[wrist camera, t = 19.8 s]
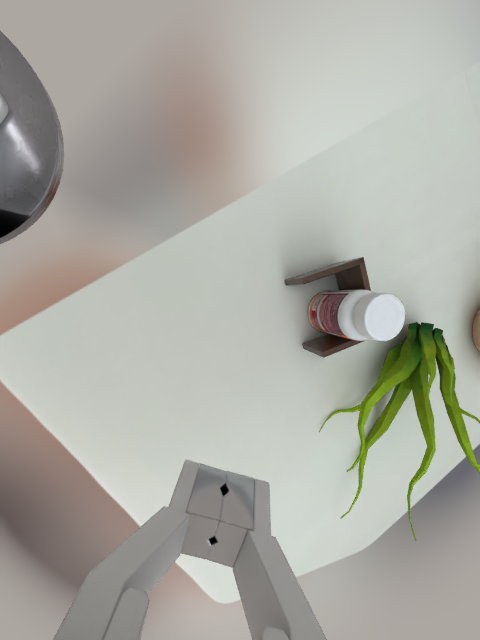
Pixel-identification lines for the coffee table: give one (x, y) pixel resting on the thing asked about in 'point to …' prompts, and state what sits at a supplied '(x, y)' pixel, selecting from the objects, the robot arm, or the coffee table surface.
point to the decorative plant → (412, 373)
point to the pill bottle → (357, 314)
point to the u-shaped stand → (348, 278)
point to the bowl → (477, 330)
